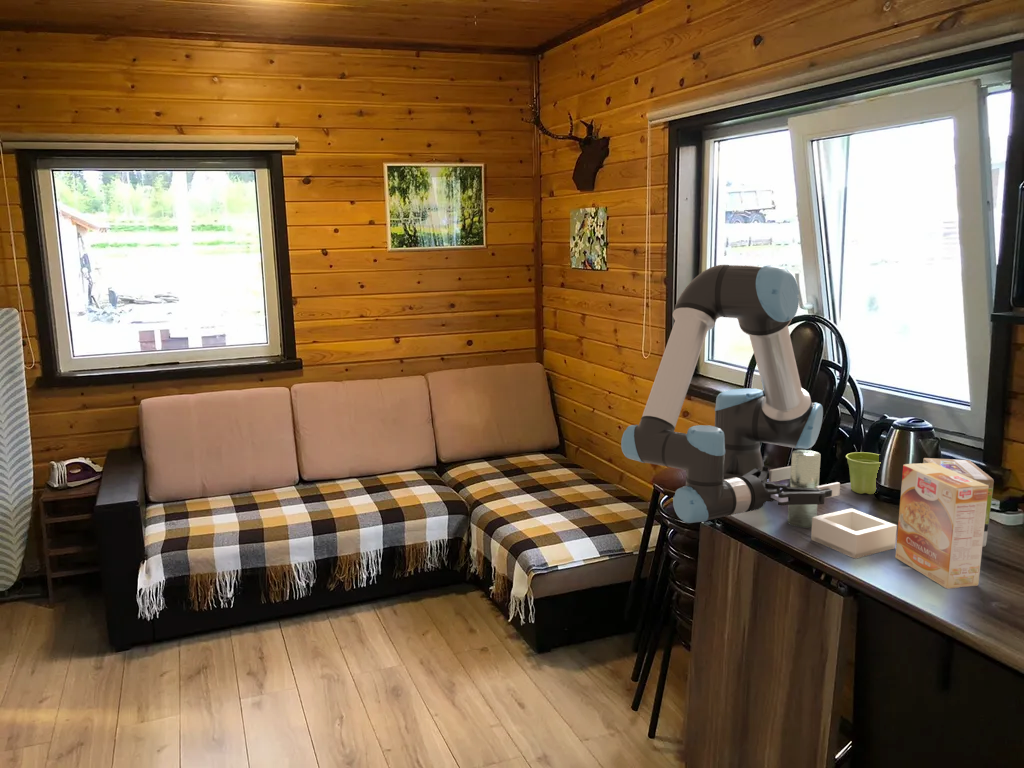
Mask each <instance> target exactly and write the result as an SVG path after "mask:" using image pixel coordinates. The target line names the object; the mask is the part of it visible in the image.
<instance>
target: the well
mask: <svg viewBox="0 0 1024 768" xmlns="http://www.w3.org/2000/svg"><path fill="white" fill-rule="evenodd" d="M897 532H898V524H896V523H893V522H889V521H887V520H884V519H881V518H879V517H875V516H873V515H870V514H868V513H867V512H866V513H865V512H862V511H860V510H858V509H855V508H852V507H851V508H846V509H842V510H838V511H833V512H829V513H825V514H820V515H817V516H815V517H812V527H811V533H810V534H811V535H810V540H811V541H813V542H816V543H817V544H818V543H819V544H820V545H823V546H825V547H828V549H829V548H830V549H832V550H834V551H836V552H838V553H840V554H843V555H846V556H848V557H850V558H852V559H861V558H863V557H867V556H872V555H874V554H879V553H883V552H886V551H891V550H894V549H896V544H897Z"/></svg>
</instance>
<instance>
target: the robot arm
mask: <svg viewBox="0 0 1024 768" xmlns="http://www.w3.org/2000/svg"><path fill="white" fill-rule="evenodd" d="M798 285H799V284H798V282H797V279H796V277H795V275H794V274H793V272H792V271H791V270H789V269H788V268H787V267H783V266H774V265H771V264H770V265H769V264H767V265H738V264H737V265H735V264H734V265H732V264H731V265H730V264H719V265H714V266H712V267H709V268H707V269H705V270H704V271H702V272H700V273H699V274H698V275H696V276H695V278H693V279H692V280H691V281H690V282H689V283H688V284H687V286H686V287H685V288H684V290H682V292H681V293H680V296H679V297H678V299H677V300H676V304H675V306H674V309H673V311H672V318H673V320H674V321H673V322H674V323H673V326H672V329H671V331H670V335H669V338H668V340H667V343H666V346H665V349H664V352H663V354H662V357H661V361H660V363H659V366H658V370H657V372H656V375H655V378H654V382H653V384H652V387H651V390H650V393H649V395H648V398H647V401H646V404H645V407H644V409H643V413H642V416H641V418H640V421H639V424H631V425H628V426H627V427H626V429H625V430H624V431H623V434H622V436H621V442H620V443H621V444H620V446H621V447H620V448H621V452H622V453H623V455H624V457H625V458H626V459H629V460H633V461H636V462H639V463H643V464H650V465H656V466H657V465H658V466H662V467H663V466H664V467H668V468H672V469H677V470H682V471H685V485H684V486H682V487H679V488H677V489H676V490H675V492H674V493H675V494H674V495H673V497H672V504H673V506H672V507H673V509H674V513H675V514H676V516H677V517H678V518H679V519H680V520H681V521H682V522H684V523H686V524H693V523H700V522H701V523H702V522H706V521H709V520H714V519H718V518H722V517H729V518H731V517H732V516H733V515H738V514H743V513H747V512H752V511H757V510H760V509H761V508H763V506H764V505H765V504H766V503H767V502H777V506H780V507H783V506H789V505H808V504H817V506H819V505H825V500H826V499H828V498H833V497H836V496H837V497H838V496H840V492H841V483H840V482H838V481H836V482H831V483H828V484H827V483H825V484H821V485H819V486H816V487H815V489H814V488H799V487H790V486H787V485H786V484H784V483H775V482H778V481H779V482H780V481H784V480H790V474H791V465H788V466H784V467H783V466H782V467H777V468H772V469H769V467H768V466H765V464H764V460H763V455H762V453H761V443H762V444H763V443H764V444H771V445H776V446H782V447H788V448H791V449H792V448H793V449H802V450H809V449H810V448H812V447H813V446H814V445H815V444H816V442H817V440H818V437H819V434H820V431H821V428H822V423H823V418H824V417H823V416H824V407H823V405H822V404H821V403H818V402H812V399H811V395H810V393H809V392H808V391H807V390H806V389H804V388H803V387H802V383H801V380H800V379H801V378H800V374H799V369H798V366H797V365H798V364H797V362H796V357H795V353H794V347H793V344H792V338H791V334H790V330H789V325H790V324H791V322H792V319H794V317H796V314H797V312H798V308H799V305H800V304H799V303H800V298H799V295H800V294H799V292H800V290H799V286H798ZM719 318H729V319H732V318H733V319H737V320H738V325H739V327H740V330H741V331H742V332H743V333H745V334H746V335H748V336H749V340H750V344H751V346H752V351H753V353H754V354H753V355H754V358H755V362H756V365H757V370H758V373H759V377H760V381H761V385H762V389H763V390H762V389H758V388H752V387H751V388H735V389H730V390H725V391H722V392H720V393H718V395H717V396H716V398H715V399H716V400H715V407H714V425H702V424H701V425H699V424H698V425H693V426H691V427H689V428H688V429H687V431H686V432H687V433H685V432H680V431H679V432H678V431H675V429H676V426H677V423H678V421H679V417H680V413H681V411H682V408H683V406H684V402H685V399H686V397H687V393H688V390H689V387H690V384H691V381H692V379H693V375H694V373H695V369H696V366H697V363H698V360H699V357H700V355H701V351H702V349H703V345H704V343H705V340H706V337H707V334H708V331H712V329H714V327H715V325H716V322H717V320H718V319H719ZM781 489H782V491H781Z"/></svg>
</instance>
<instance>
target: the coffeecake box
mask: <svg viewBox="0 0 1024 768" xmlns="http://www.w3.org/2000/svg"><path fill="white" fill-rule="evenodd" d="M901 476H902V477H901V488H900V499H899V509H898V510H899V511H898V513H899V514H898V524H897V532H896V544H895V557H894V558H895V559H896V560H898V561H900V562H902V563H904V564H905V565H907V566H909V567H910V568H912V569H914V570H916V571H917V572H919V573H920V574H921V575H924V577H926V578H928V579H930V580H932V582H935V583H937V584H938V585H940V586H942V587H943V588H944V589H947V590H948V589H949V590H950V589H958V588H965V587H969V588H970V587H976V586H977V587H978V585H979V582H980V573H981V572H980V571H981V564H982V563H981V562H982V553H983V547H982V545H983V536H984V526H985V517H986V507H987V497H988V488H989V485H986V484H983V483H981V482H978V481H976V480H974V479H971V478H969V477H966V476H964V475H962V474H959V473H957V472H954V471H952V470H950V469H947V468H945V467H942V466H940V465H938V464H935V463H923V462H922V463H921V462H920V463H914V462H912V463H905V464H903V465H902V475H901Z"/></svg>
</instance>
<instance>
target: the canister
mask: <svg viewBox="0 0 1024 768" xmlns="http://www.w3.org/2000/svg"><path fill="white" fill-rule="evenodd" d="M821 458H822V457H821V453H820V452H818V451H814V450H811V449H794V450H792V451H791V458H790V459H791V462H790V463H791V464H790V466H791V474H790V479H789V487H799V488H814V489H815V487H816V486H820V472H821V469H820V468H821ZM787 507H788V509H787V523H788V524H789V523H790V525H791V526H794V527H797V528H812V517H815V516H818V514H817V513H818V505H817V504H808V505H788V506H787Z"/></svg>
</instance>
